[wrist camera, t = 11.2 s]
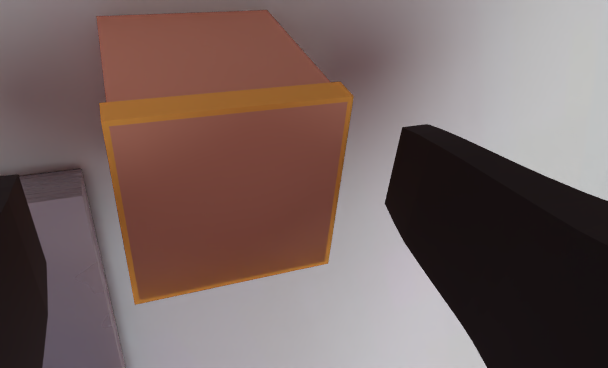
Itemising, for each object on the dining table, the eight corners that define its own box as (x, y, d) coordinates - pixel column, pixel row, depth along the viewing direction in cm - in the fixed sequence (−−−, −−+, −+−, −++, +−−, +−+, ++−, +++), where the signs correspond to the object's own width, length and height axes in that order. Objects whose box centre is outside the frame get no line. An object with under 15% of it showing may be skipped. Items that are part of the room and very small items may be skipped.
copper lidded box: (265, 147, 15) (328, 263, 11) (117, 166, 14) (135, 304, 10) (270, 5, 13) (353, 96, 9) (90, 11, 11) (101, 121, 8)
